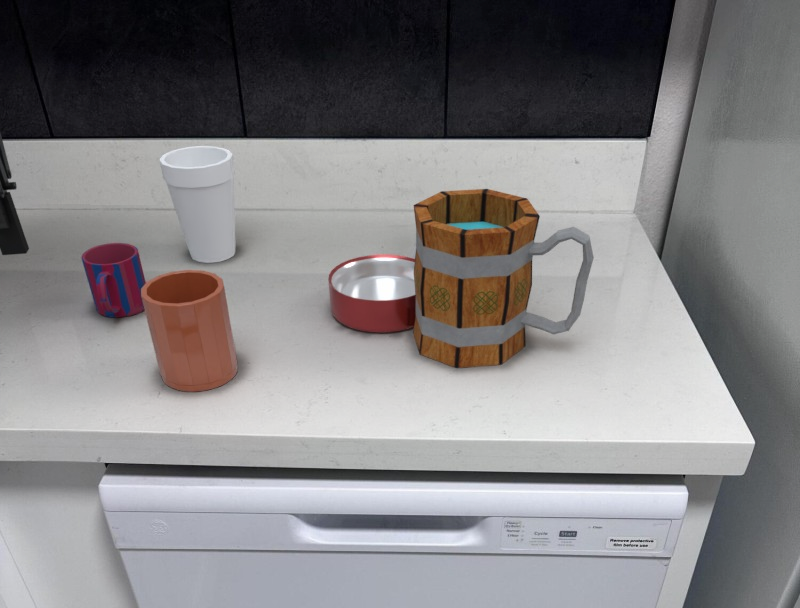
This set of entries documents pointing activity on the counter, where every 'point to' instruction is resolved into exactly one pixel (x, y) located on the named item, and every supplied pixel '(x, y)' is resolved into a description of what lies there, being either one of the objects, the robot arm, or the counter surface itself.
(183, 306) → the tumbler
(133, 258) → the cup
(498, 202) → the mug
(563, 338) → the counter surface
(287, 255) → the counter surface
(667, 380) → the counter surface
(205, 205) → the foam cup
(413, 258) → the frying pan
